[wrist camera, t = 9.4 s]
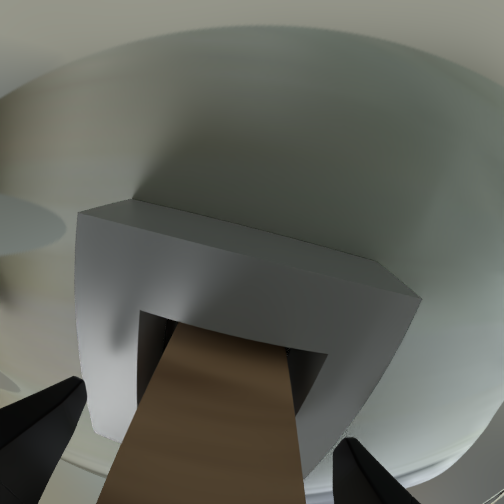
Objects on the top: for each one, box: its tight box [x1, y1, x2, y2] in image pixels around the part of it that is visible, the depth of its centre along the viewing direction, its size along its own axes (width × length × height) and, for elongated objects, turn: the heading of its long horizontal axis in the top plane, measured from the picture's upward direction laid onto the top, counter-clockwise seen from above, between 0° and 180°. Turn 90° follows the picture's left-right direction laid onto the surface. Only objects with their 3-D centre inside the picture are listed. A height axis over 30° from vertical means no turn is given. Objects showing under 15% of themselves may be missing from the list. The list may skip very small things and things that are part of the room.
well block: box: [75, 199, 422, 479], centre depth 11 cm, size 11×11×4 cm
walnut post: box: [96, 322, 306, 504], centre depth 8 cm, size 4×4×10 cm
